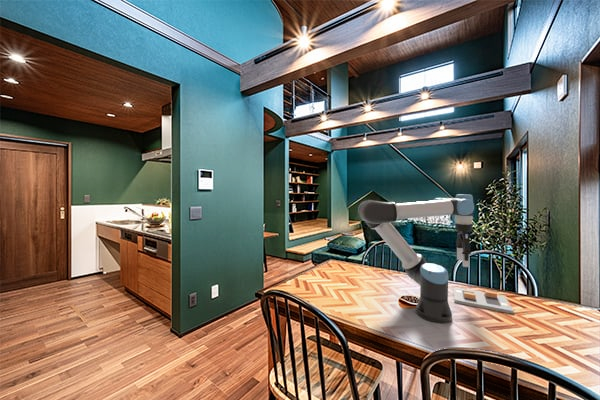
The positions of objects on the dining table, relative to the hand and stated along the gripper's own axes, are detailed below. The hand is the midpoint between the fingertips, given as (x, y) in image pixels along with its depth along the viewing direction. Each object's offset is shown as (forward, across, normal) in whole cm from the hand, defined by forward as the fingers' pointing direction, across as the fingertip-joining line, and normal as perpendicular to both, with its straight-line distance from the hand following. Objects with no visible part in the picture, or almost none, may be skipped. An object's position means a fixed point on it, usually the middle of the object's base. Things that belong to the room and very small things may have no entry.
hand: (462, 263), depth 128 cm
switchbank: (+21, +6, -10) cm, 24 cm away
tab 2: (+19, +10, -15) cm, 26 cm away
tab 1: (+19, +3, -4) cm, 20 cm away
